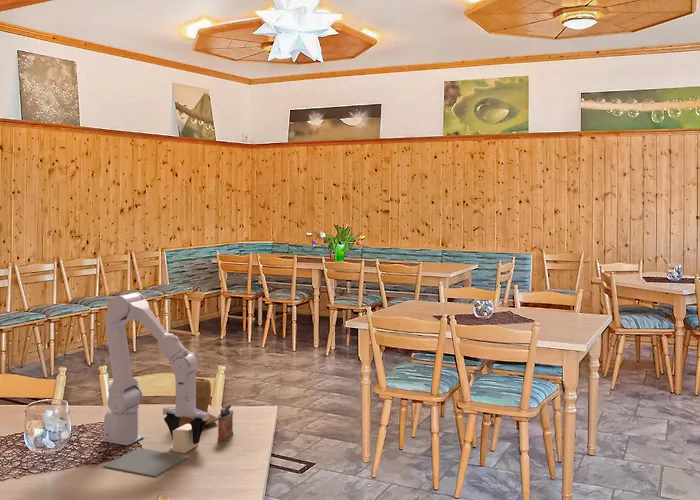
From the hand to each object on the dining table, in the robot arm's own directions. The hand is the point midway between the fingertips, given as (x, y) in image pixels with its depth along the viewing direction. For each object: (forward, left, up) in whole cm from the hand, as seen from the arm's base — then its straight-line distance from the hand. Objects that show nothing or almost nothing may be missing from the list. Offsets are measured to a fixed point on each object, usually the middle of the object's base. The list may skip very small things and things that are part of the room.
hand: (185, 441), depth 208 cm
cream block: (0, 0, -2) cm, 2 cm away
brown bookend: (-10, +18, -2) cm, 21 cm away
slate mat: (-3, -14, -2) cm, 14 cm away
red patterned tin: (+6, +12, -2) cm, 14 cm away
